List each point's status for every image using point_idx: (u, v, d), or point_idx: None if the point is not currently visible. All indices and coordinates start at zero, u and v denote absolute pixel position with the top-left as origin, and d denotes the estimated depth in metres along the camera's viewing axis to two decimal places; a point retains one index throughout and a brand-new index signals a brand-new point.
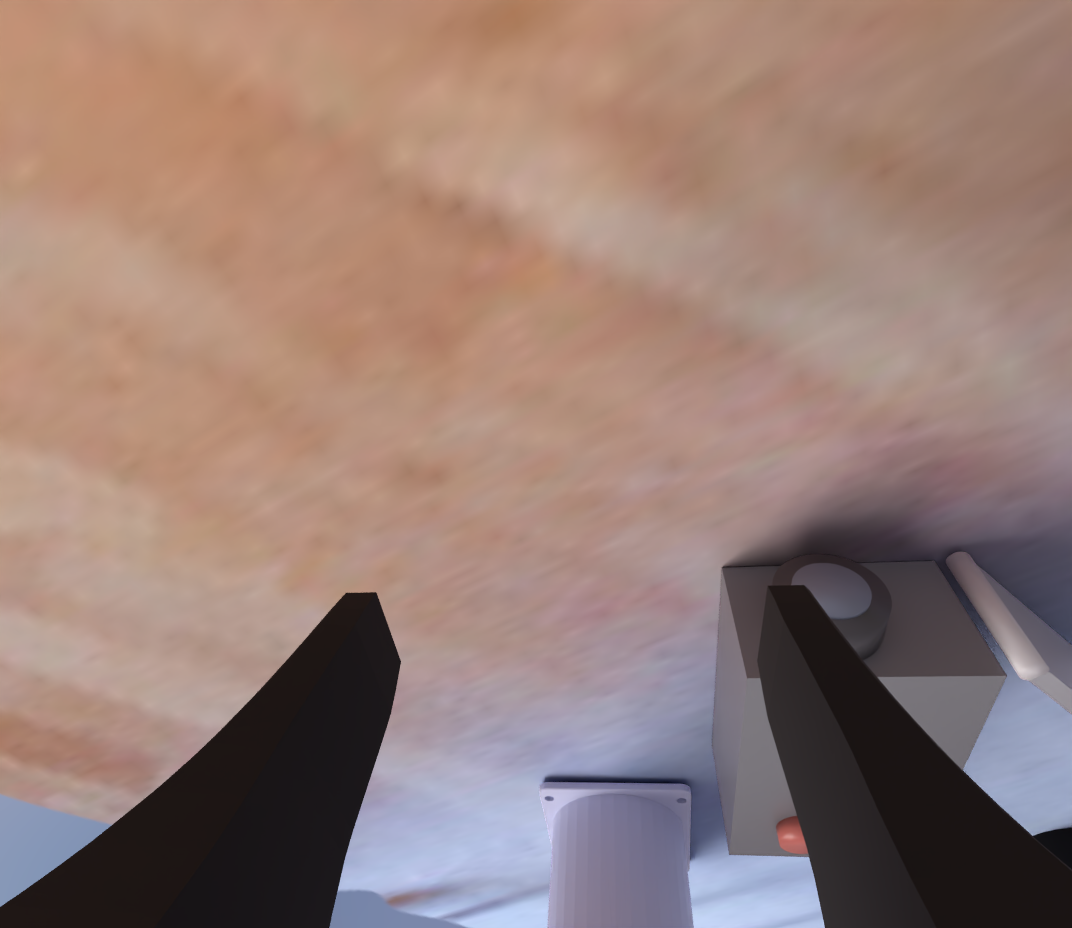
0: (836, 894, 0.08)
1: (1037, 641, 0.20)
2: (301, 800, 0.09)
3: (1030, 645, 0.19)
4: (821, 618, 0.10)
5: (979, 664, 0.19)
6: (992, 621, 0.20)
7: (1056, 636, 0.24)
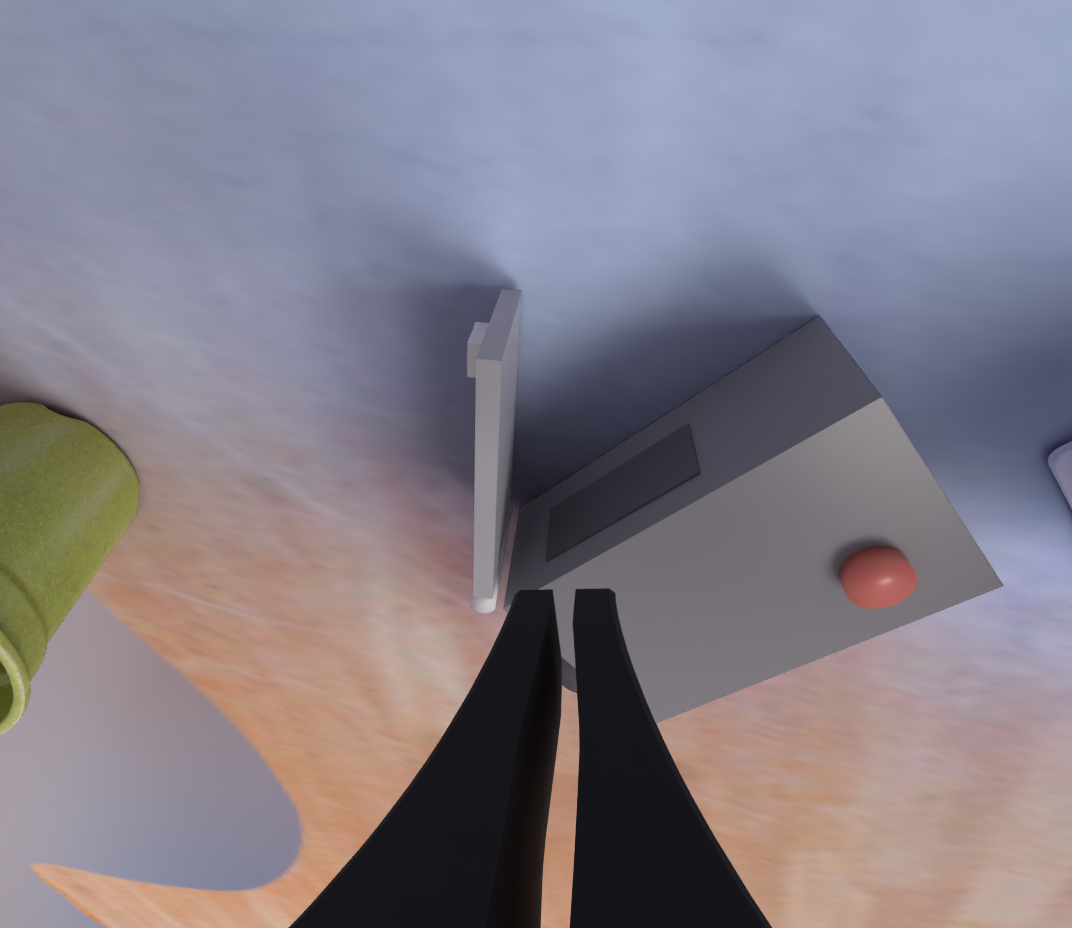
0: None
1: None
2: (526, 806, 0.09)
3: None
4: (608, 620, 0.10)
5: None
6: None
7: None
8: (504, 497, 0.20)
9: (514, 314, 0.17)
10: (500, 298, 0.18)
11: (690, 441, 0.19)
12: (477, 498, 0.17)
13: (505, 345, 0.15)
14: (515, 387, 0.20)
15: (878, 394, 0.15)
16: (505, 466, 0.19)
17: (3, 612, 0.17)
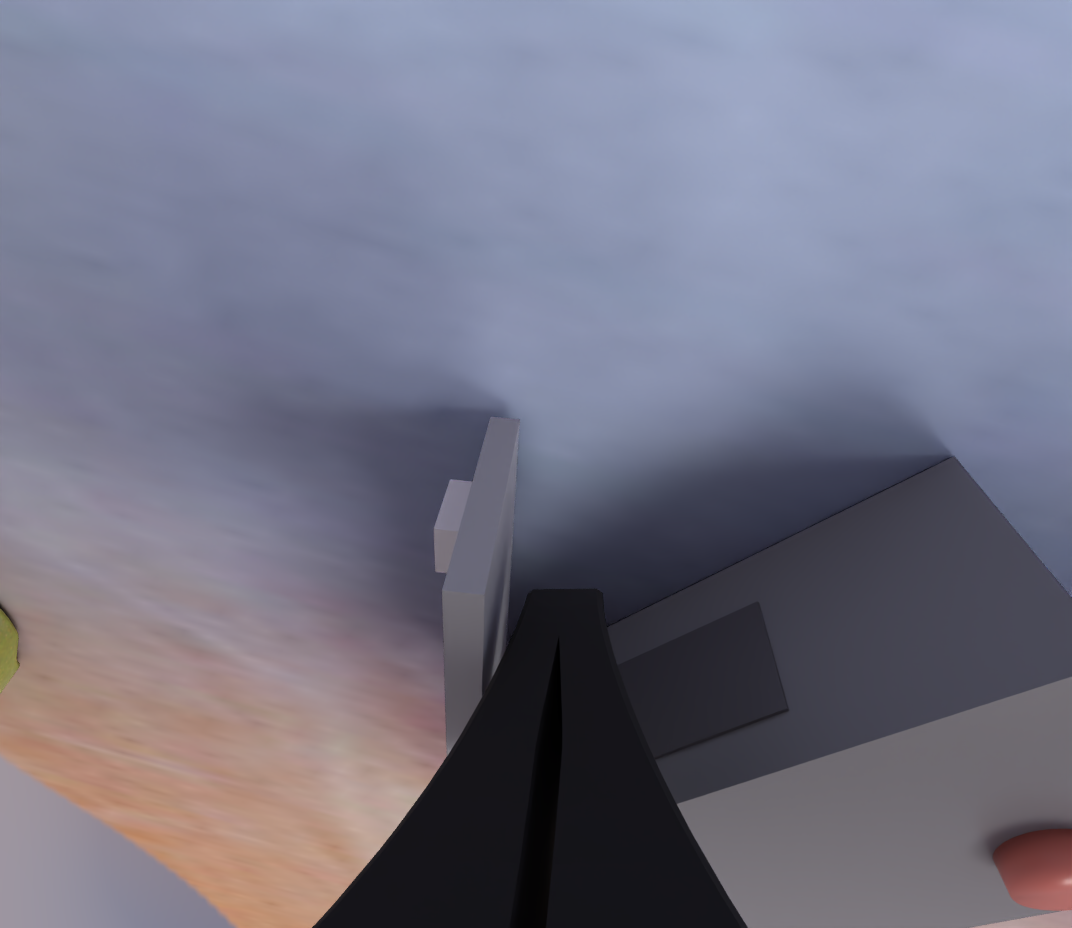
0: None
1: None
2: (543, 807, 0.09)
3: None
4: (593, 621, 0.10)
5: None
6: None
7: None
8: None
9: (508, 473, 0.11)
10: (488, 438, 0.12)
11: (765, 639, 0.13)
12: None
13: (492, 550, 0.10)
14: (510, 545, 0.14)
15: None
16: (496, 668, 0.13)
17: None
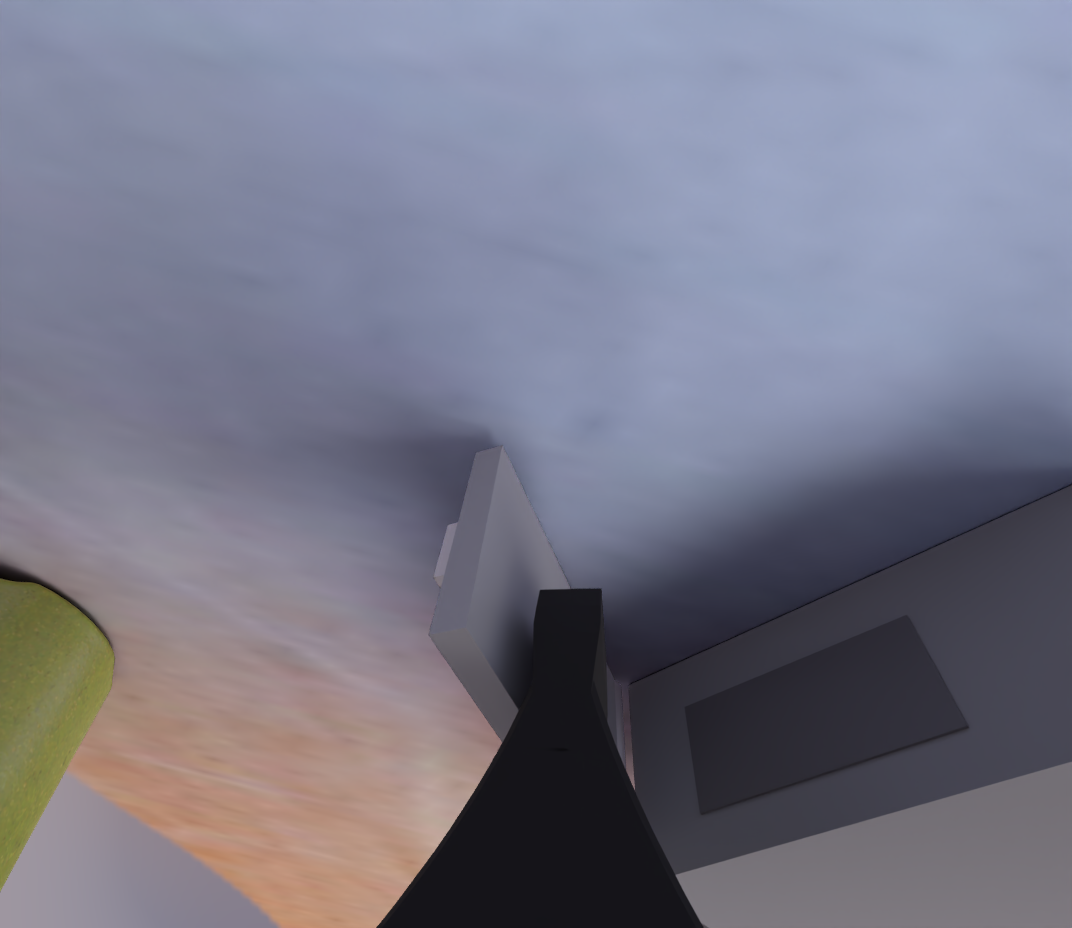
0: None
1: None
2: None
3: None
4: (568, 620, 0.10)
5: None
6: None
7: None
8: None
9: (490, 501, 0.11)
10: (473, 474, 0.12)
11: (925, 654, 0.13)
12: None
13: (474, 581, 0.10)
14: (550, 563, 0.14)
15: None
16: None
17: None
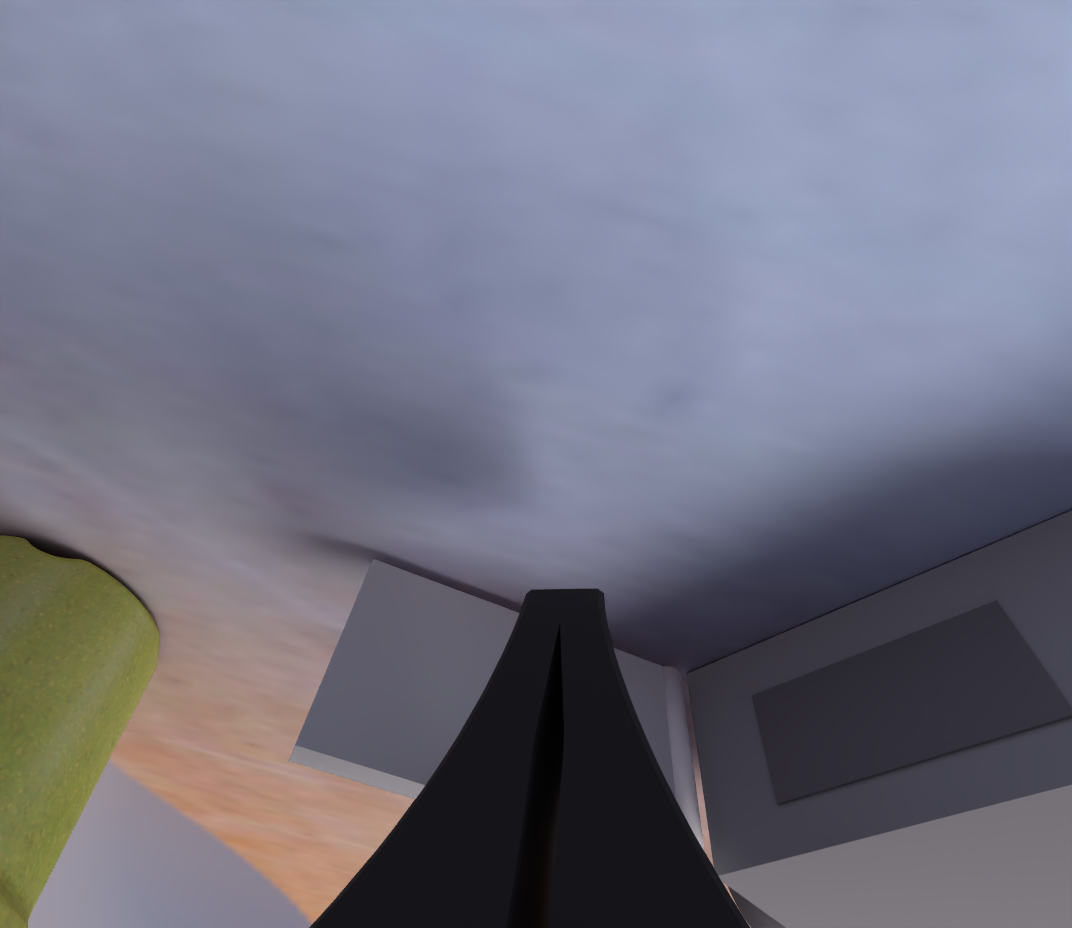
0: None
1: None
2: (541, 806, 0.09)
3: None
4: (595, 620, 0.10)
5: None
6: None
7: None
8: None
9: (349, 618, 0.14)
10: None
11: (1021, 641, 0.12)
12: None
13: (315, 700, 0.12)
14: (483, 616, 0.15)
15: None
16: None
17: None
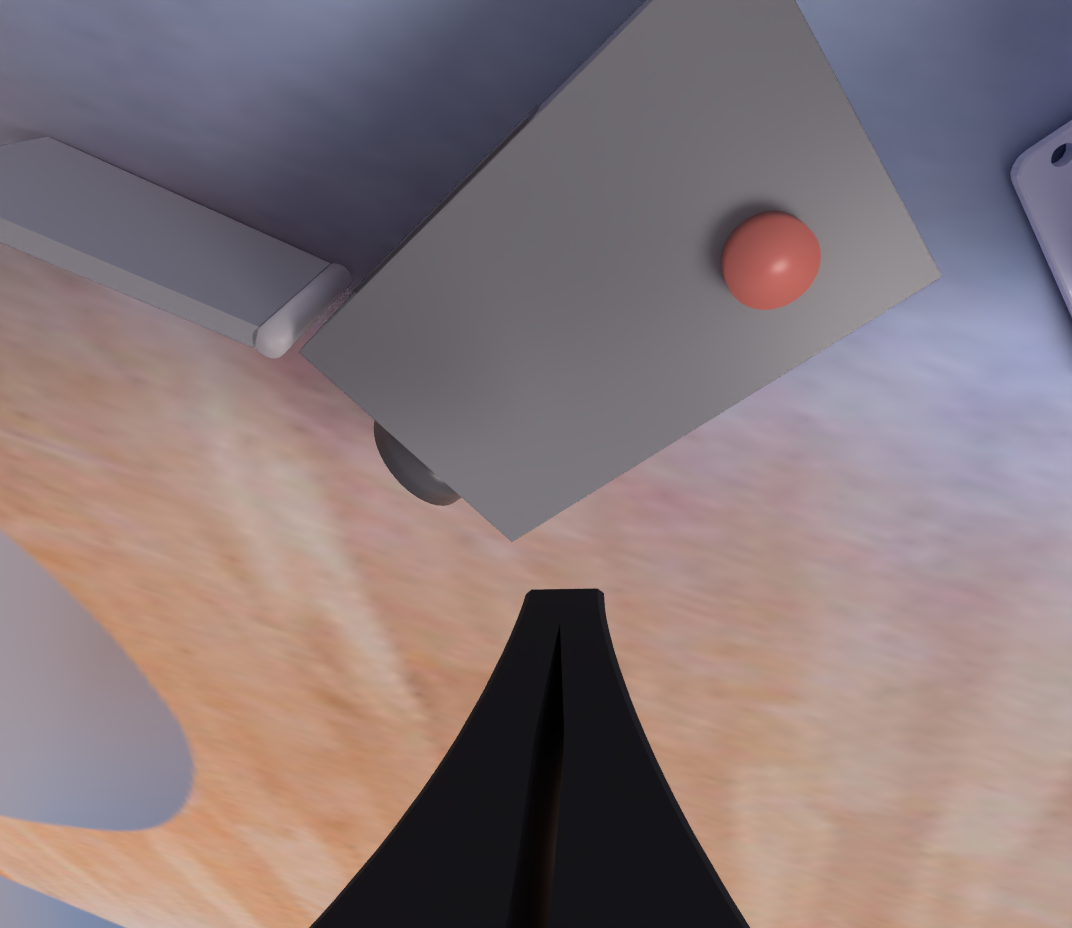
0: None
1: None
2: (541, 807, 0.09)
3: None
4: (595, 620, 0.10)
5: None
6: (312, 316, 0.16)
7: None
8: (218, 257, 0.16)
9: None
10: None
11: (531, 111, 0.14)
12: (87, 275, 0.14)
13: None
14: (147, 189, 0.17)
15: None
16: (162, 235, 0.16)
17: None
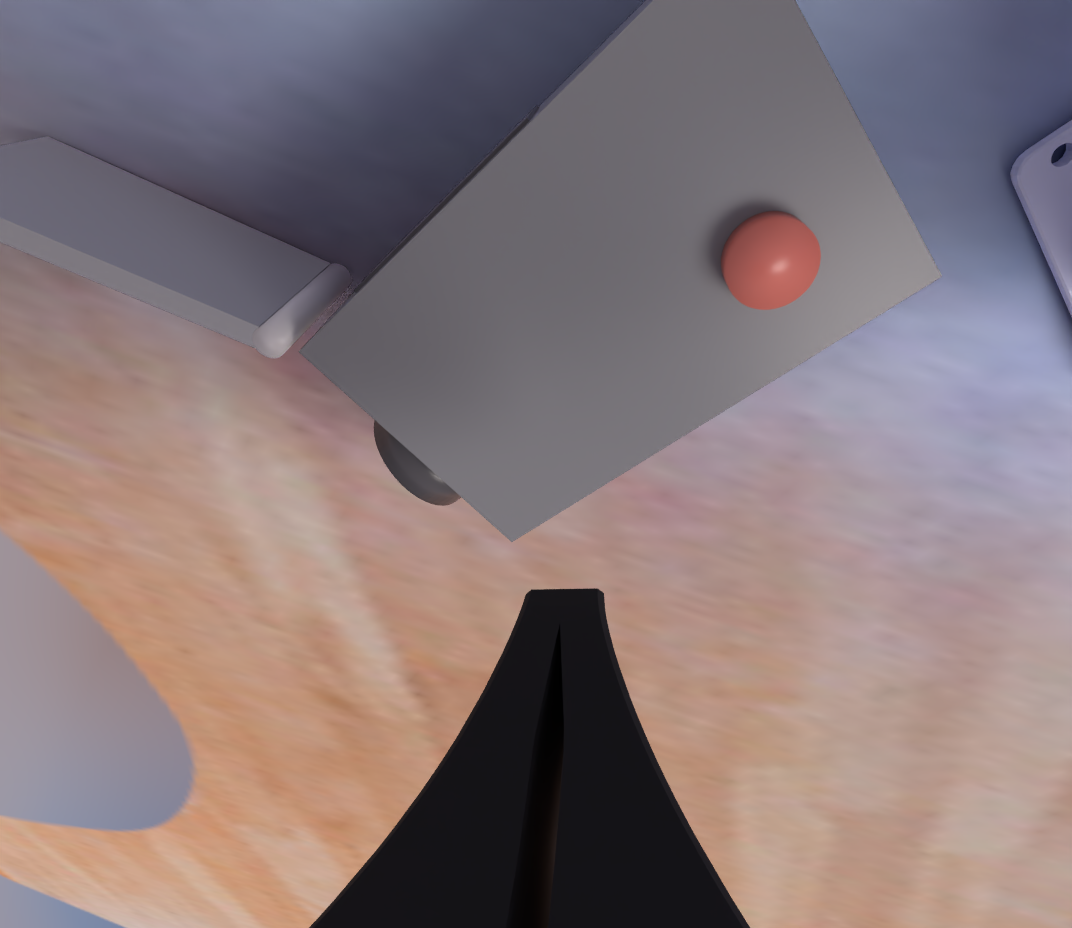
0: None
1: None
2: (541, 807, 0.09)
3: None
4: (595, 620, 0.10)
5: None
6: (312, 316, 0.16)
7: None
8: (218, 256, 0.16)
9: None
10: None
11: None
12: (87, 275, 0.14)
13: None
14: (147, 189, 0.17)
15: None
16: (162, 235, 0.16)
17: None
